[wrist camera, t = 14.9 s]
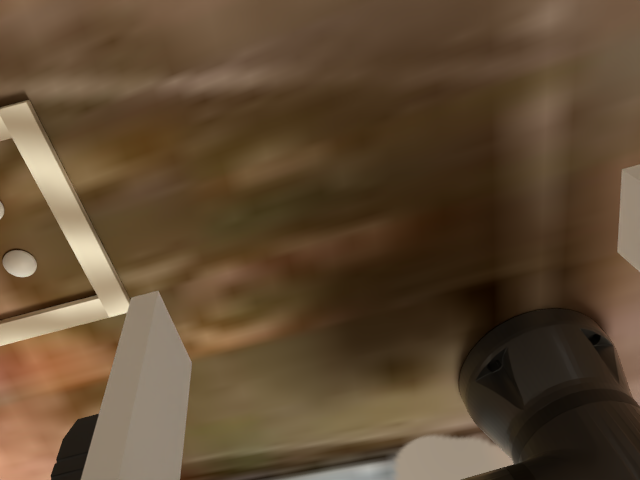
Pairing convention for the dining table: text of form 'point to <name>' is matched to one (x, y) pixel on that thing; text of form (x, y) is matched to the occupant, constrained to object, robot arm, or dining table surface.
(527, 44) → the dining table surface
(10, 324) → the frame
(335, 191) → the dining table surface
